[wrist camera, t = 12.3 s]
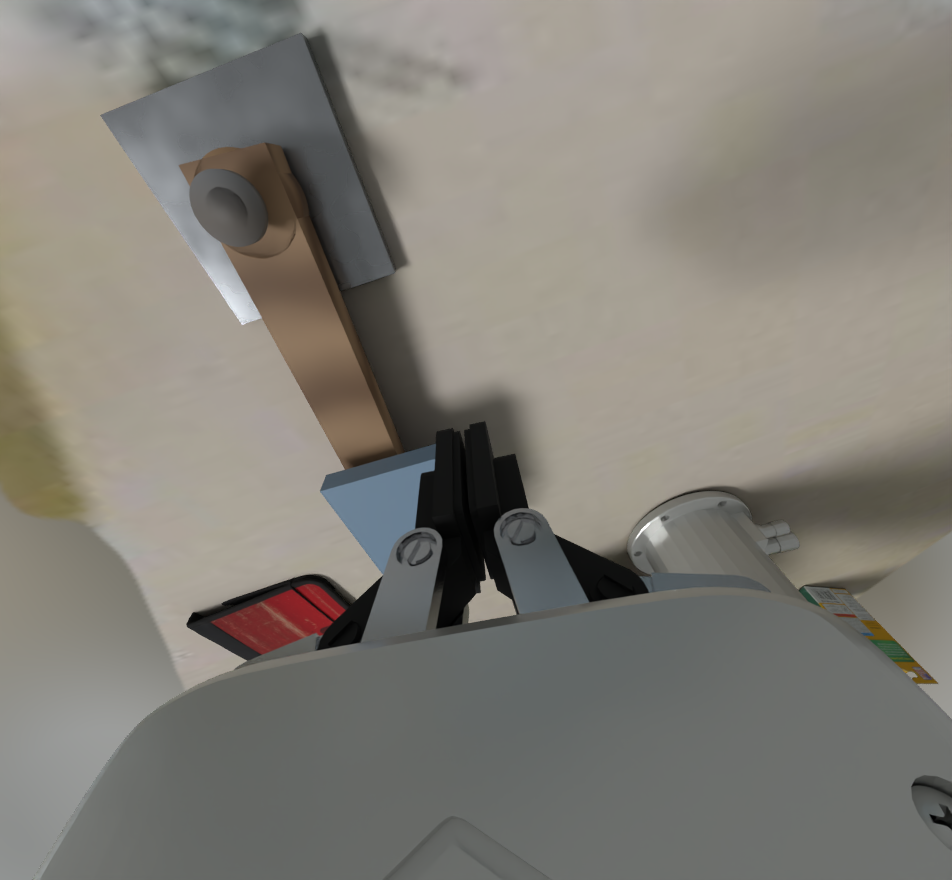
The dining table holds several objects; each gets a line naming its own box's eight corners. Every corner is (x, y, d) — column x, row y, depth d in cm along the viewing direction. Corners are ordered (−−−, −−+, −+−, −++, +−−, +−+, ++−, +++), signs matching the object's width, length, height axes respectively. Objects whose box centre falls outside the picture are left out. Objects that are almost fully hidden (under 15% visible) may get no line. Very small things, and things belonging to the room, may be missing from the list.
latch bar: (197, 162, 18) (140, 158, 14) (284, 139, 18) (247, 130, 14) (371, 496, 31) (364, 535, 28) (421, 486, 31) (420, 524, 28)
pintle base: (306, 38, 16) (301, 32, 16) (396, 270, 22) (395, 273, 21) (112, 117, 17) (100, 114, 17) (247, 320, 23) (241, 324, 22)
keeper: (436, 409, 28) (436, 458, 23) (478, 512, 35) (485, 566, 30) (339, 438, 29) (320, 491, 24) (400, 533, 36) (394, 589, 31)
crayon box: (787, 597, 50) (869, 695, 40) (803, 585, 48) (892, 683, 39) (828, 600, 51) (916, 694, 42) (845, 588, 50) (941, 683, 40)
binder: (306, 697, 50) (181, 628, 39) (310, 679, 52) (192, 608, 41) (411, 662, 49) (313, 578, 37) (411, 644, 51) (318, 559, 39)
